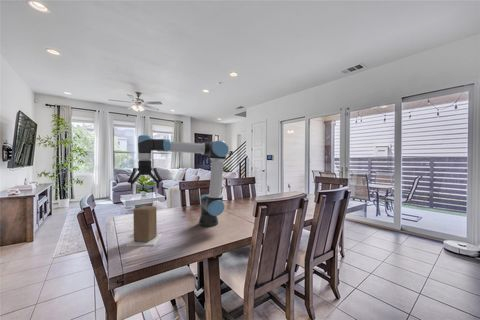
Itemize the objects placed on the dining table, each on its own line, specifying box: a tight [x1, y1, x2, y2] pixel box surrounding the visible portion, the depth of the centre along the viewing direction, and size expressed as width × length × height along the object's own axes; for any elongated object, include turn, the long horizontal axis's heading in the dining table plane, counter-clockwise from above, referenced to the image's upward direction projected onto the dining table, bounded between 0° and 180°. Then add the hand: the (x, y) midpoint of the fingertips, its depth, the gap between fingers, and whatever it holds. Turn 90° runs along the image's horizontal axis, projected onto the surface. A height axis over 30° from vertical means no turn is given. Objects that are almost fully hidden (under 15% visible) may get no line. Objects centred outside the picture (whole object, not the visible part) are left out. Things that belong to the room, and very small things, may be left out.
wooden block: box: [133, 205, 158, 242], centre depth 128 cm, size 10×10×20 cm
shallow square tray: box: [125, 233, 163, 247], centre depth 129 cm, size 16×16×1 cm
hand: (145, 193), depth 128 cm, fingers open, 13 cm apart
